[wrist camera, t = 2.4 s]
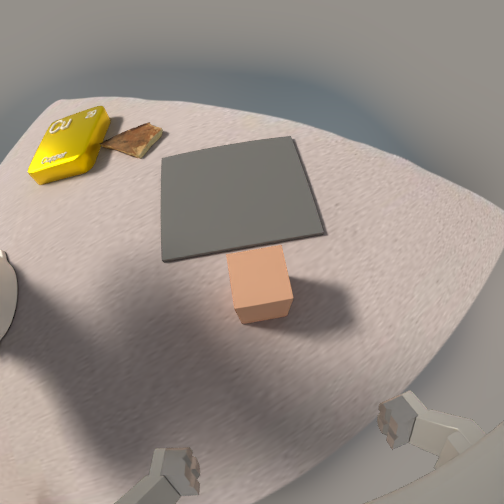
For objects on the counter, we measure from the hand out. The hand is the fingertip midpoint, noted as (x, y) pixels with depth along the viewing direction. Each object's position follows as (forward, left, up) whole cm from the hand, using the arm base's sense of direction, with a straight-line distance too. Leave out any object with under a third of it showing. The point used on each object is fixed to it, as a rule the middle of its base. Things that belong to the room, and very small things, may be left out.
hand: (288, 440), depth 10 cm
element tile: (-31, +45, -20) cm, 58 cm away
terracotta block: (0, +11, -19) cm, 22 cm away
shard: (-17, +40, -20) cm, 48 cm away
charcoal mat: (-1, +26, -19) cm, 33 cm away
